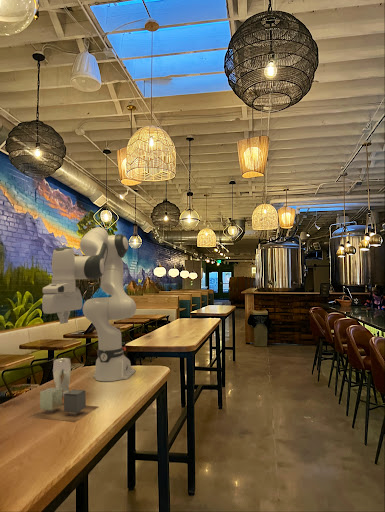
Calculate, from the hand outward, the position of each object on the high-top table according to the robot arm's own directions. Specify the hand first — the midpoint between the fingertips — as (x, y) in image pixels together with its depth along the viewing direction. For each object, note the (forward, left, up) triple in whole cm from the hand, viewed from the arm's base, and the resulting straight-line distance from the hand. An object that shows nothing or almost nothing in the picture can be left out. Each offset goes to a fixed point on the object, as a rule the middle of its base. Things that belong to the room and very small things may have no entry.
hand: (63, 323), depth 143 cm
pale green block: (+10, +2, -30) cm, 32 cm away
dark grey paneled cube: (+10, +12, -29) cm, 33 cm away
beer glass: (-8, -7, -31) cm, 33 cm away
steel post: (+10, +12, -30) cm, 34 cm away
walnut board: (+9, +7, -31) cm, 33 cm away
